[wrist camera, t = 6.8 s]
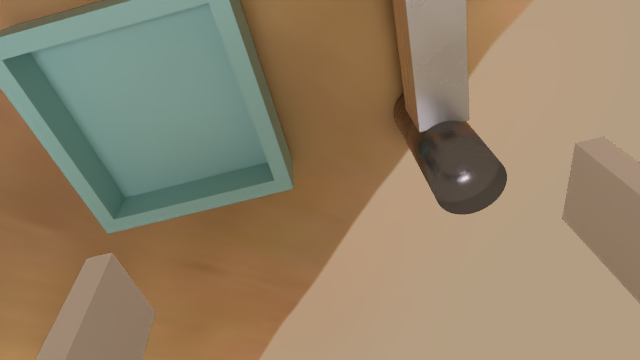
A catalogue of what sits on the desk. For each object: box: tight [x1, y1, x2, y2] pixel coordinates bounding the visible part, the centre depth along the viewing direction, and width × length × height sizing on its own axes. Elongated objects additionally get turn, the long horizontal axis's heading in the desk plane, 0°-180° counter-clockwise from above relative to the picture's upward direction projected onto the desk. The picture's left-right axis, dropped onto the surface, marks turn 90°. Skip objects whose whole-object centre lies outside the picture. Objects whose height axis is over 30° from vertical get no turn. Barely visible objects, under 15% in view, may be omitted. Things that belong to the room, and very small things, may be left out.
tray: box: [0, 0, 294, 234], centre depth 25 cm, size 13×13×4 cm
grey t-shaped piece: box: [392, 0, 507, 214], centre depth 20 cm, size 17×4×9 cm, turn 13°
